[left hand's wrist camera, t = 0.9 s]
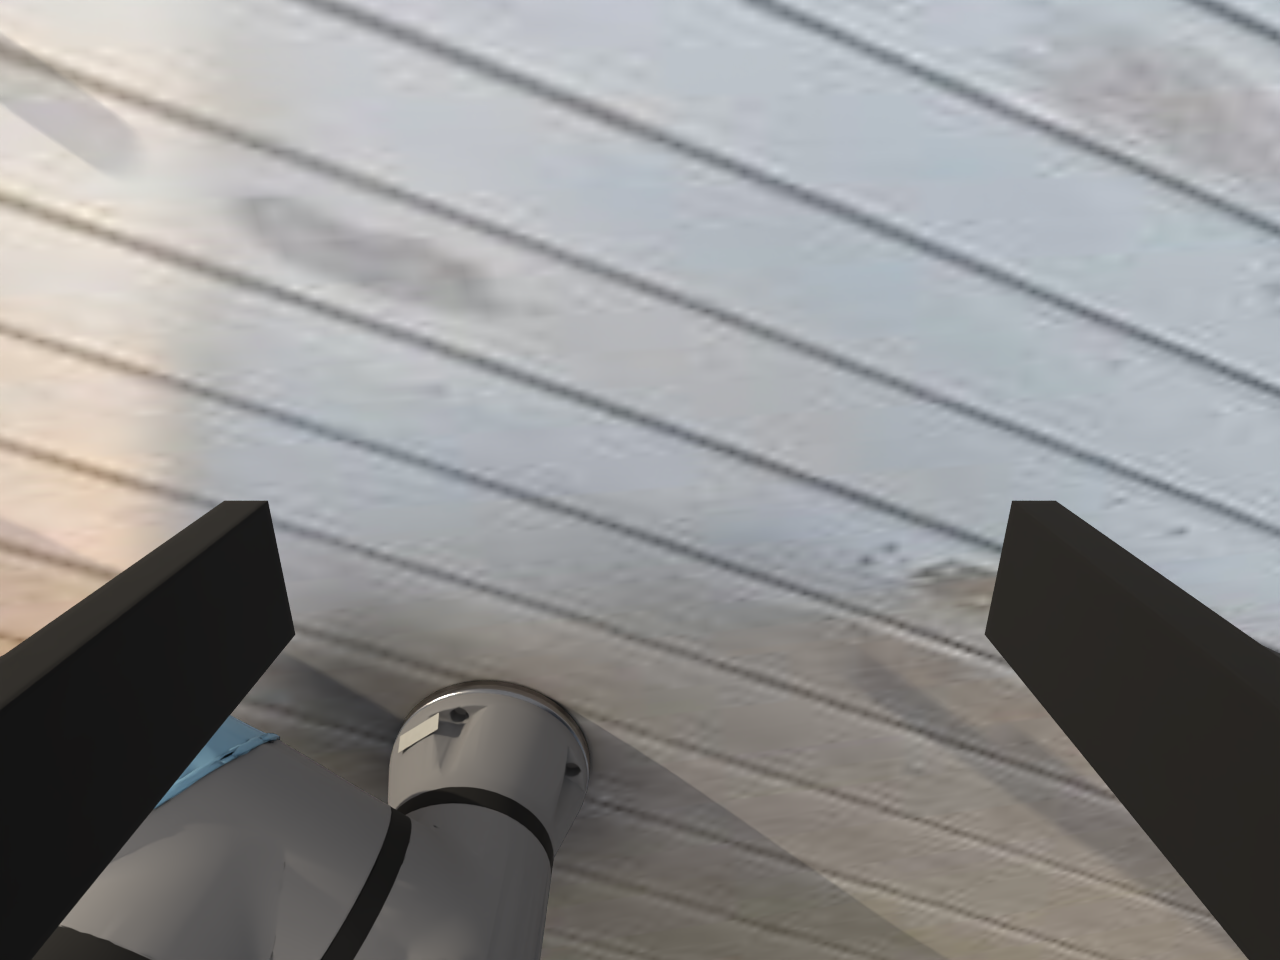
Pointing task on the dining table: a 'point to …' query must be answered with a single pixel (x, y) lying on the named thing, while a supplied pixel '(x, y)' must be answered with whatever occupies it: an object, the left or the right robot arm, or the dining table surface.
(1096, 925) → the dining table surface
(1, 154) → the dining table surface
